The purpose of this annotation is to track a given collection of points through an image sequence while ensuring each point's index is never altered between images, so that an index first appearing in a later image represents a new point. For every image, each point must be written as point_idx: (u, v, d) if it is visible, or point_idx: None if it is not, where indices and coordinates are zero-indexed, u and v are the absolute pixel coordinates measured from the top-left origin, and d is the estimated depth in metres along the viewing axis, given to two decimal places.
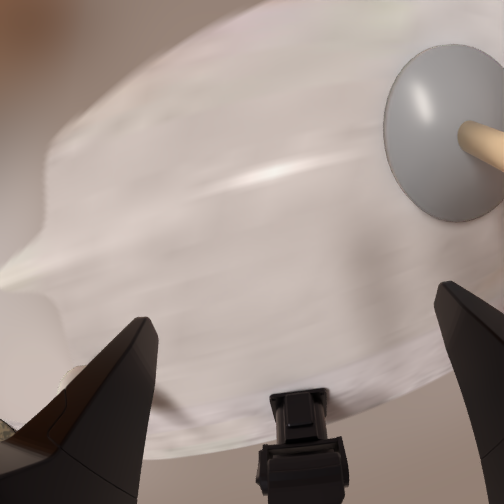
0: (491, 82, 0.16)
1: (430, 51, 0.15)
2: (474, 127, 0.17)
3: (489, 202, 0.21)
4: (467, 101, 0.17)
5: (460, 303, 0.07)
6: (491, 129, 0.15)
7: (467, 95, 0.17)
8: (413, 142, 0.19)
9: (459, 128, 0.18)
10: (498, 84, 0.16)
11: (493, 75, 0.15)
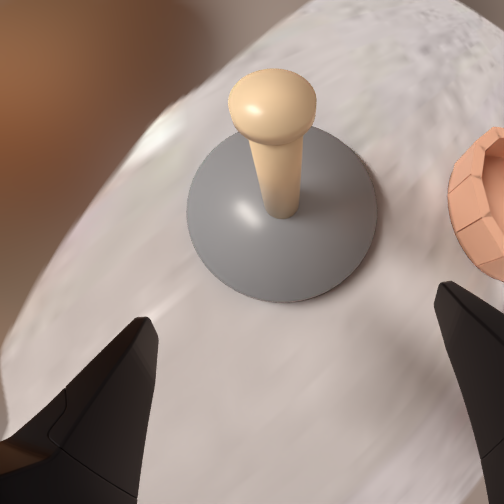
0: None
1: (202, 164, 0.24)
2: None
3: (357, 244, 0.22)
4: None
5: (460, 303, 0.07)
6: None
7: (255, 171, 0.24)
8: (223, 245, 0.23)
9: (264, 203, 0.23)
10: None
11: None
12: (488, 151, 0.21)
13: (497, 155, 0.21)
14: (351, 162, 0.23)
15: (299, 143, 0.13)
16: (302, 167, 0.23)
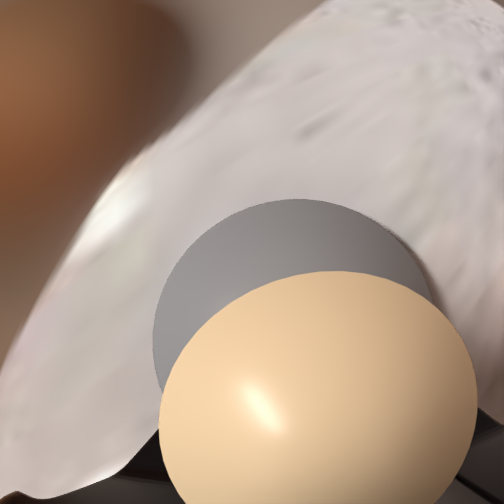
0: (288, 238, 0.15)
1: (172, 272, 0.15)
2: None
3: None
4: None
5: None
6: None
7: None
8: None
9: None
10: (303, 231, 0.15)
11: (286, 226, 0.15)
12: None
13: None
14: (407, 274, 0.14)
15: None
16: None
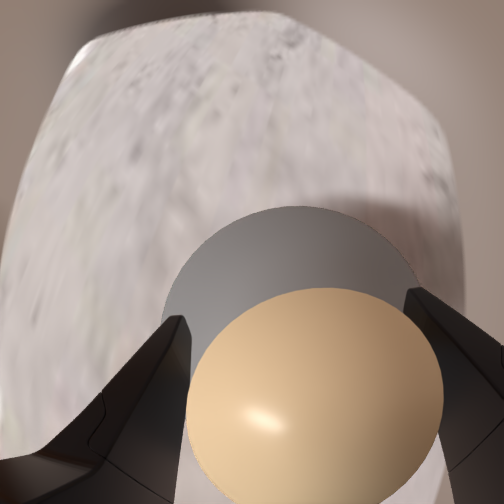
0: (289, 243, 0.16)
1: (178, 276, 0.16)
2: None
3: None
4: (263, 302, 0.16)
5: (425, 310, 0.07)
6: None
7: (259, 294, 0.16)
8: None
9: None
10: (303, 236, 0.16)
11: (286, 232, 0.16)
12: None
13: None
14: (401, 277, 0.15)
15: None
16: (330, 288, 0.15)
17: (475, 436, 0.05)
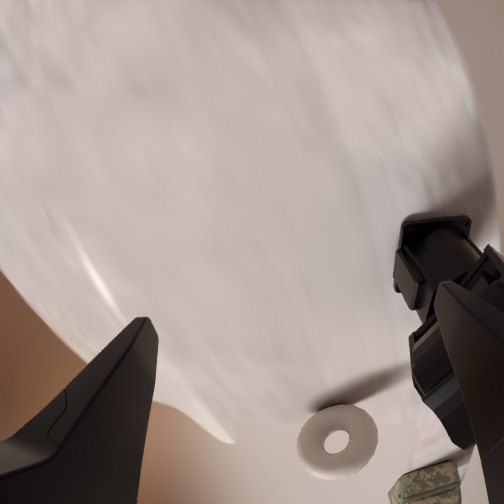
0: None
1: None
2: None
3: None
4: None
5: (460, 303, 0.07)
6: None
7: None
8: None
9: None
10: None
11: None
12: None
13: None
14: None
15: None
16: None
17: None
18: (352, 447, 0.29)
